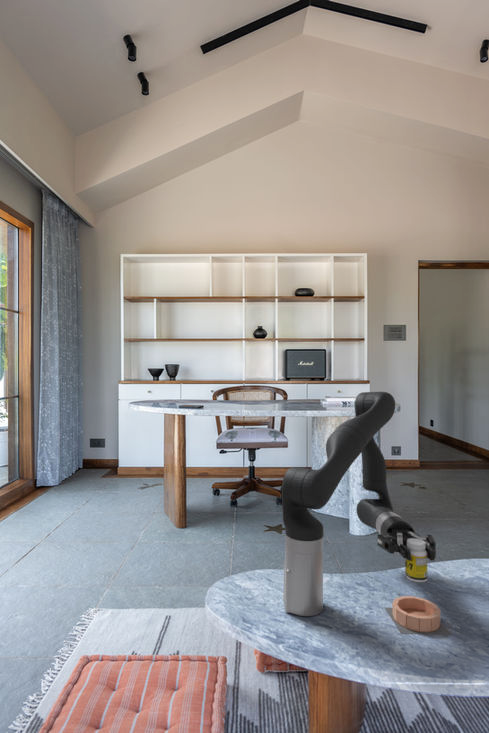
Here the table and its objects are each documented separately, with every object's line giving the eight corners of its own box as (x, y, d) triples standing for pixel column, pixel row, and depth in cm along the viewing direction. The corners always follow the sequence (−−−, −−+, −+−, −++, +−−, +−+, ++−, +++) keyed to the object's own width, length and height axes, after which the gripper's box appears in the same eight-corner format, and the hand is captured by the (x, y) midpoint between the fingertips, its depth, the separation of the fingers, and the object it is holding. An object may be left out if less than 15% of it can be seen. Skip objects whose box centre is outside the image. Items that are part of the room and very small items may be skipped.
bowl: (402, 632, 94) (402, 618, 95) (387, 608, 104) (387, 595, 105) (448, 632, 95) (448, 618, 95) (428, 609, 105) (428, 596, 105)
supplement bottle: (401, 573, 102) (401, 537, 103) (421, 573, 103) (420, 537, 103) (411, 583, 98) (411, 545, 98) (431, 582, 98) (431, 544, 98)
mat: (401, 635, 94) (401, 633, 94) (384, 608, 105) (384, 607, 105) (451, 635, 94) (451, 634, 94) (429, 609, 105) (429, 608, 105)
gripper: (367, 515, 115) (389, 539, 98) (421, 515, 115) (452, 539, 98) (367, 544, 114) (389, 573, 97) (421, 544, 115) (452, 573, 97)
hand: (421, 556), depth 98 cm, fingers closed on supplement bottle, 4 cm apart
